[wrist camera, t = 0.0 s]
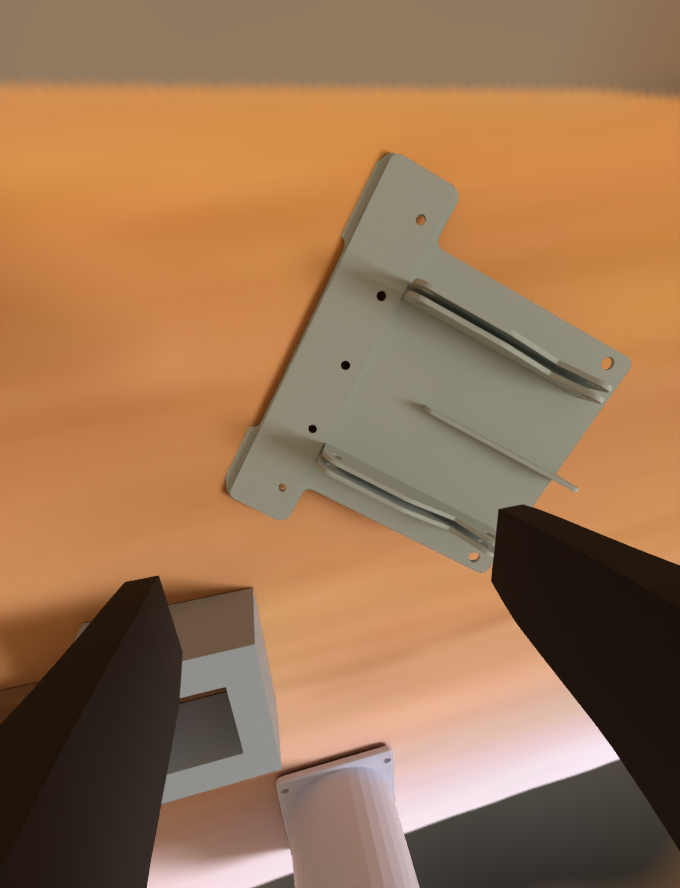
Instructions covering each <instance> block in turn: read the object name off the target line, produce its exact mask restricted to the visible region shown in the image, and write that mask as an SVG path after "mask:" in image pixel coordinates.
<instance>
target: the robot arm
mask: <svg viewBox="0 0 680 888" xmlns="http://www.w3.org/2000/svg"><path fill="white" fill-rule="evenodd" d="M491 582H492V583H493V585H494V587H495V589H496V590H497V592H498V594H499V596H500V597H501V599H502V601H503V602H504V604H505V606H506V607H507V609H508V611H509V612H510V614H511V615H512V617H513V619H514V620H515V622H516V623H517V625H518V626H519V627H520V628H521V630H522V631H523V632H524V634H525V635H526V636H527V638H528V639H529V640H530V642H531V643H532V644H533V645H534V647H535V648H536V649H537V651H538V652H539V653H540V654H541V656H542V657H543V658H544V660H545V661H546V662H547V663H548V665H549V666H550V667H551V668H552V670H553V671H554V672H555V674H556V675H557V676H558V677H559V679H560V680H561V681H562V682H563V684H564V685H565V686H566V688H567V689H568V690H569V691H570V693H571V694H572V695H573V696H574V698H575V699H576V700H577V702H578V703H579V704H580V705H581V707H582V708H583V709H584V710H585V712H586V713H587V714H588V715H589V717H590V718H591V719H592V721H593V722H594V723H595V725H596V726H597V727H598V729H599V730H600V731H601V733H602V734H603V735H604V737H605V738H606V739H607V741H608V742H609V744H610V745H611V746H612V748H613V749H614V751H615V752H616V754H617V755H618V757H619V758H620V760H621V761H622V763H623V764H624V766H625V767H626V769H627V770H628V771H629V773H630V774H631V776H632V777H633V779H634V780H635V782H636V784H637V785H638V787H639V788H640V790H641V791H642V793H643V794H644V796H645V797H646V799H647V800H648V802H649V803H650V805H651V806H652V808H653V809H654V811H655V812H656V814H657V816H658V817H659V819H660V820H661V822H662V824H663V825H664V827H665V828H666V830H667V831H668V833H669V835H670V836H671V838H672V839H673V841H674V843H675V844H676V846H677V847H678V849H679V850H680V565H677V564H675V563H672V562H669V561H667V560H664V559H661V558H659V557H656V556H654V555H651V554H648V553H646V552H643V551H641V550H638V549H636V548H633V547H631V546H628V545H626V544H623V543H621V542H618V541H616V540H613V539H611V538H608V537H606V536H604V535H601V534H599V533H596V532H594V531H591V530H589V529H587V528H584V527H582V526H579V525H577V524H574V523H572V522H569V521H567V520H565V519H562V518H560V517H557V516H554V515H552V514H549V513H547V512H544V511H542V510H539V509H536V508H533V507H530V506H527V505H524V504H522V505H516V506H511V507H506V508H501V509H498V518H497V528H496V538H495V548H494V558H493V568H492V578H491ZM182 656H183V651H182V648H181V645H180V642H179V638H178V635H177V632H176V629H175V626H174V622H173V619H172V616H171V613H170V610H169V607H168V603H167V600H166V597H165V594H164V591H163V587H162V584H161V581H160V578H159V576H154V577H149V578H144V579H139V580H134V581H129V582H125V583H124V584H123V585H122V586H121V587H120V589H119V590H118V591H117V592H116V593H115V594H114V595H113V597H112V598H111V599H110V600H109V601H108V603H107V604H106V605H105V606H104V607H103V608H102V610H101V611H100V612H99V613H98V614H97V616H96V617H95V618H94V619H93V620H92V622H91V623H90V624H89V625H88V626H87V627H86V629H85V630H84V631H83V632H82V633H81V635H80V636H79V637H78V638H77V639H76V640H75V642H74V643H73V644H72V645H71V646H70V647H69V649H68V650H67V651H66V652H65V653H64V654H63V655H62V657H61V658H60V659H59V660H58V661H57V662H56V664H55V665H54V666H53V667H52V668H51V669H50V671H49V672H48V673H47V674H46V675H45V676H44V677H43V679H42V680H41V681H40V682H39V683H38V684H37V685H36V687H35V688H34V689H33V690H32V691H31V692H30V693H29V694H28V695H27V696H26V697H25V698H24V699H23V701H22V702H21V703H20V704H19V705H18V706H17V707H16V708H15V709H14V710H13V711H12V712H11V713H10V715H9V716H8V717H7V718H6V719H5V720H4V721H3V722H2V723H1V724H0V888H147V882H148V876H149V869H150V862H151V857H152V851H153V846H154V841H155V835H156V830H157V824H158V819H159V814H160V808H161V803H162V798H163V792H164V787H165V781H166V776H167V771H168V765H169V760H170V755H171V749H172V743H173V738H174V732H175V727H176V721H177V715H178V710H179V700H180V687H181V673H182ZM276 790H277V794H278V798H279V803H280V807H281V811H282V816H283V820H284V824H285V829H286V833H287V837H288V842H289V846H290V850H291V855H292V859H293V871H294V879H295V880H294V882H295V888H419V885H418V882H417V878H416V874H415V871H414V868H413V864H412V861H411V858H410V854H409V850H408V847H407V843H406V840H405V836H404V833H403V830H402V826H401V823H400V819H399V816H398V812H397V809H396V805H395V782H394V753H393V750H392V747H391V746H383V747H380V748H376V749H373V750H369V751H366V752H363V753H359V754H356V755H352V756H349V757H346V758H342V759H339V760H335V761H332V762H329V763H325V764H322V765H318V766H315V767H311V768H308V769H305V770H301V771H298V772H294V773H291V774H288V775H284V776H281V777H279V778H278V779H277V781H276Z"/></svg>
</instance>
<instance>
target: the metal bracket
mask: <svg viewBox="0 0 680 888" xmlns="http://www.w3.org/2000/svg"><path fill="white" fill-rule="evenodd" d="M457 201H458V193H457V191H456V190H455V187H454V186H453V185H452V184H450V183H448V182H447V181H445V180H443V179H442V178H440V177H438V176H437V175H435V174H433V173H432V172H430V171H428V170H427V169H425V168H423V167H422V166H420V165H418V164H417V163H415V162H413V161H412V160H410V159H408V158H407V157H405V156H403V155H401V154H395V153H388V154H387V155H385V156H384V157H383V158H381V159H380V160H379V161H378V162H377V163H376V165H375V167H374V169H373V171H372V173H371V175H370V177H369V179H368V182H367V184H366V186H365V188H364V190H363V192H362V194H361V196H360V198H359V200H358V202H357V204H356V206H355V209H354V211H353V213H352V215H351V217H350V219H349V221H348V223H347V225H346V227H345V229H344V231H343V233H342V235H341V237H342V238H343V239H344V243H345V245H344V250H343V252H342V254H341V256H340V258H339V260H338V262H337V264H336V266H335V268H334V270H333V272H332V275H331V277H330V279H329V281H328V283H327V285H326V287H325V289H324V291H323V293H322V295H321V297H320V300H319V302H318V304H317V306H316V308H315V310H314V312H313V314H312V316H311V318H310V320H309V322H308V325H307V327H306V329H305V331H304V333H303V335H302V337H301V339H300V341H299V343H298V345H297V347H296V350H295V352H294V354H293V356H292V358H291V360H290V362H289V364H288V366H287V368H286V370H285V372H284V375H283V377H282V379H281V381H280V383H279V385H278V387H277V389H276V391H275V393H274V395H273V397H272V400H271V402H270V404H269V406H268V408H267V410H266V412H265V414H264V416H263V418H262V420H261V422H260V424H259V425H258V426H255V427H252V426H249V429H248V431H247V433H246V435H245V437H244V439H243V442H242V443H241V445H240V447H239V449H238V451H237V453H236V456H235V458H234V460H233V462H232V464H231V466H230V468H229V470H228V472H227V474H226V489H227V492H228V493H229V494H230V495H231V497H232V498H233V499H235V500H237V501H239V502H241V503H243V504H245V505H248V506H250V507H252V508H254V509H256V510H258V511H260V512H262V513H264V514H266V515H268V516H270V517H272V518H274V519H276V520H284V519H287V518H288V517H289V516H290V515H291V513H292V511H293V509H294V507H295V505H296V504H297V502H298V500H299V498H300V496H301V494H302V493H303V492H304V491H305V490H307V489H311V490H314V491H316V492H318V493H320V494H322V495H324V496H326V497H328V498H330V499H332V500H334V501H336V502H338V503H340V504H342V505H344V506H346V507H348V508H350V509H352V510H354V511H356V512H358V513H360V514H362V515H364V516H366V517H368V518H370V519H372V520H374V521H376V522H378V523H380V524H382V525H384V526H386V527H388V528H390V529H392V530H394V531H396V532H398V533H400V534H402V535H404V536H406V537H408V538H410V539H412V540H414V541H416V542H418V543H420V544H422V545H424V546H426V547H428V548H430V549H432V550H434V551H436V552H438V553H440V554H442V555H444V556H446V557H448V558H450V559H452V560H454V561H456V562H458V563H460V564H462V565H464V566H466V567H468V568H470V569H472V570H474V571H476V572H480V573H483V572H486V571H487V570H488V569H489V568H490V566H491V565H492V563H493V558H494V548H495V538H496V528H497V518H498V509H501V508H506V507H511V506H516V505H522V504H524V505H527V506H530V507H533V505H534V504H535V502H536V501H537V500H538V498H539V497H540V495H541V494H542V492H543V491H544V490H545V488H546V487H547V485H548V484H549V483H550V481H551V480H554V481H556V482H557V483H559V484H561V485H563V486H565V487H567V488H569V489H570V490H572V491H574V492H577V491H578V489H579V488H577V487H576V486H574V485H572V484H571V483H569V482H568V481H566V480H565V479H563V478H562V477H560V476H558V475H557V474H556V473H557V471H558V470H559V468H560V467H561V466H562V464H563V463H564V461H565V460H566V458H567V457H568V456H569V454H570V453H571V451H572V450H573V449H574V447H575V446H576V444H577V443H578V441H579V440H580V439H581V437H582V436H583V434H584V433H585V432H586V430H587V429H588V427H589V426H590V424H591V423H592V422H593V420H594V419H595V417H596V416H597V415H598V413H599V412H600V410H601V409H602V408H603V406H604V405H605V403H606V402H607V400H608V399H609V398H610V396H611V395H612V393H613V392H614V391H615V389H616V388H617V386H618V385H619V383H620V382H621V381H622V379H623V378H624V376H625V375H626V374H627V372H628V371H629V369H630V367H631V360H630V359H629V358H628V357H627V356H625V355H623V354H621V353H620V352H618V351H616V350H614V349H613V348H611V347H609V346H607V345H606V344H604V343H602V342H601V341H599V340H597V339H595V338H594V337H592V336H590V335H588V334H587V333H585V332H583V331H582V330H580V329H578V328H576V327H575V326H573V325H571V324H569V323H568V322H566V321H564V320H562V319H561V318H559V317H557V316H556V315H554V314H552V313H550V312H549V311H547V310H545V309H543V308H542V307H540V306H538V305H537V304H535V303H533V302H531V301H530V300H528V299H526V298H524V297H523V296H521V295H519V294H517V293H516V292H514V291H512V290H511V289H509V288H507V287H505V286H504V285H502V284H500V283H498V282H497V281H495V280H493V279H491V278H490V277H488V276H486V275H485V274H483V273H481V272H479V271H478V270H476V269H474V268H472V267H471V266H469V265H467V264H466V263H464V262H462V261H460V260H459V259H457V258H455V257H453V256H452V255H450V254H448V253H446V252H445V251H443V250H442V249H441V248H440V247H439V244H438V239H439V236H440V234H441V232H442V230H443V228H444V226H445V225H446V223H447V221H448V219H449V217H450V215H451V213H452V211H453V210H454V208H455V206H456V204H457ZM420 215H421V216H423V217H424V218H425V223H424V225H418V224H417V223H416V217H417V216H420ZM380 291H383V292H384V293H385V294H386V299H385V300H384V301H379V300H378V299H377V293H378V292H380ZM606 357H609V358H610V359H611V361H612V364H611V366H610V367H609V368H608V369H606V370H603V369H602V367H601V362H602V360H603V359H604V358H606ZM343 361H348V362H349V363H350V368H349V369H347V370H344V369H342V368H341V363H342V362H343ZM310 425H315V426H316V427H317V431H316V432H314V433H312V432H310V431H309V429H308V428H309V426H310ZM279 484H284V485H286V490H280V489H279V487H278V486H279ZM473 552H476V553H478V554H479V556H478V558H477V559H476V560H469V559H468V557H469V554H471V553H473Z"/></svg>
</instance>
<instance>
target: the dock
mask: <svg viewBox="0 0 680 888" xmlns="http://www.w3.org/2000/svg"><path fill="white" fill-rule="evenodd" d="M168 607H169V610H170V613H171V616H172V619H173V622H174V626H175V629H176V632H177V635H178V638H179V642H180V645H181V648H182V651H183V656H182V673H181V687H180V698H183V697H187V696H191V695H195V694H199V693H203V692H207V691H211V690H215V689H219V688H223V687H226V690H227V692H225V693H221V694H217V695H213V696H209V697H205V698H201V699H197V700H193V701H189V702H185V703H181V704H179V710H178V715H177V721H176V727H175V732H174V738H173V743H172V749H171V755H170V760H169V765H168V771H167V776H166V781H165V787H164V792H163V798H162V803H161V804H164V803H168V802H171V801H175V800H178V799H181V798H185V797H188V796H192V795H195V794H199V793H202V792H206V791H209V790H213V789H216V788H219V787H223V786H226V785H230V784H233V783H237V782H240V781H244V780H247V779H250V778H254V777H257V776H261V775H264V774H268V773H271V772H275V771H278V770H281V769H282V766H281V753H280V741H279V729H278V716H277V704H276V699H275V694H274V689H273V685H272V680H271V675H270V670H269V665H268V660H267V655H266V650H265V645H264V640H263V635H262V630H261V625H260V620H259V615H258V610H257V605H256V600H255V595H254V590H253V588H249V589H244V590H240V591H235V592H230V593H225V594H221V595H216V596H211V597H206V598H201V599H197V600H192V601H187V602H182V603H178V604H173V605H168ZM90 623H91V622H87V623H82V625H81V627H80V629H79V631H78V633H77V636H76V638H75V640H76V639H77V638H78V637H79V636H80V635H81V633H82V632H83V631H84V630H85V629H86V627H87V626H88V625H89V624H90ZM75 640H74V642H75ZM74 642H73V643H74Z"/></svg>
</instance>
